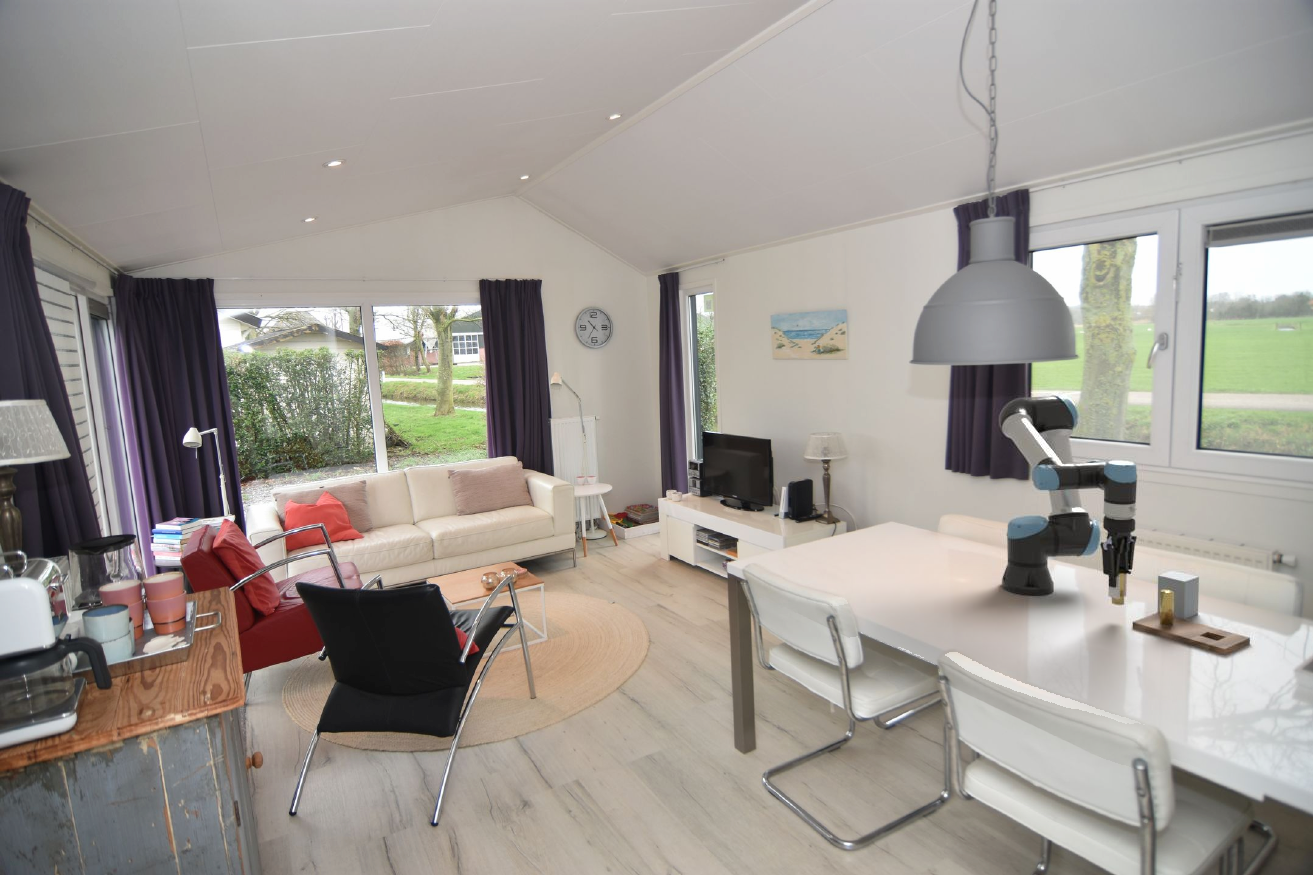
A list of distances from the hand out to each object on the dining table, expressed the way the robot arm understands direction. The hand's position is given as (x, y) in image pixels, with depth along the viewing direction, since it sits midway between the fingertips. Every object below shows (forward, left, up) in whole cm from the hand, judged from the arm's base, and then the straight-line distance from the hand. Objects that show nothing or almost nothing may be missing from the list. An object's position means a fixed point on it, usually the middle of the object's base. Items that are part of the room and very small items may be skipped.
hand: (1117, 595), depth 201 cm
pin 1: (0, 0, -2) cm, 2 cm away
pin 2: (+11, +4, -5) cm, 13 cm away
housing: (+7, +18, -7) cm, 20 cm away
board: (+17, +4, -7) cm, 18 cm away
